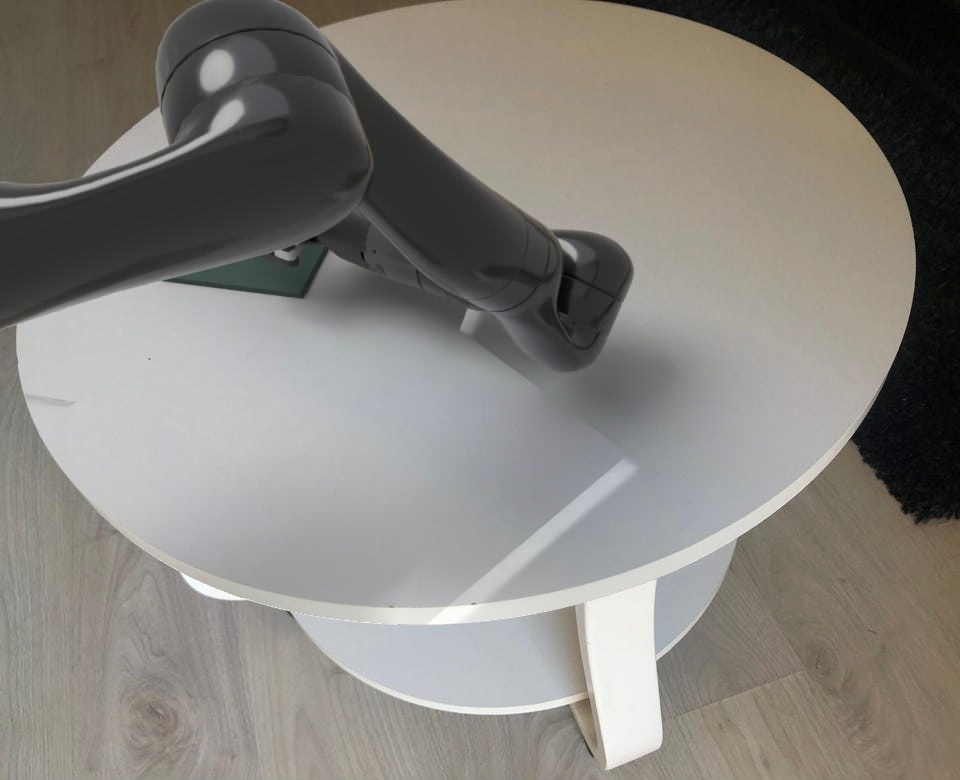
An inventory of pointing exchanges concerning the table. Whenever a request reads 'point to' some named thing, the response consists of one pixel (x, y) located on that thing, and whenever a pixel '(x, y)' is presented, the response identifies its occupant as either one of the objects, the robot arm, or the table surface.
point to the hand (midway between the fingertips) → (253, 175)
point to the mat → (261, 274)
